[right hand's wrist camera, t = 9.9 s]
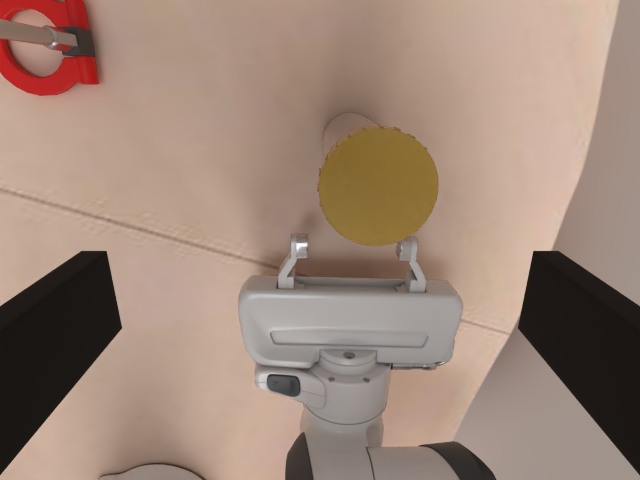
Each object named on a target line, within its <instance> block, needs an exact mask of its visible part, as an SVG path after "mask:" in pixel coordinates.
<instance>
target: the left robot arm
mask: <svg viewBox="0 0 640 480" xmlns="http://www.w3.org/2000/svg"><path fill="white" fill-rule="evenodd" d="M397 243H398V245H397V247H396V254H397V256H398V259H399V261H408V262H409V264H410V266H411V268H412V271H411V270H407V271H406V275H405V279H380V278H341V277H303V276H295V268H294V267H293V266H294V264H295V263H296V261H297V260H298V258H307V256H308V234H297V233H292V235H291V251H290V252H289V254H288V255H287V257H286V258H285V260H284V261H283V263H282V264H281V266H280V270H279V274H278V276H265V275H253V276H250V277H249V278H248V279H247V281H246V282H245V283H244V284H243V286H242V288H241V291H240V294H239V299H238V309H239V319H240V326H241V331H242V336H243V341H244V345H245V348H246V351H247V353H248V354H249V356H250V357H251V358H252V359H253V360H254V361H255V362H256V364H255V384H256V386H257V387H258V388H259V389H261V390H264V391H267V392H271V393H275V394H278V395H282V396H285V397H288V398H291V399H294V400H296V401H299V402H301V403H303V405H304V411H303V413H302V416H301V422H300V435H299V436H298V438H297V439H296V441H295V442H294V444H293V445H292V447H291V449H290V450H289V452H288V455H287V460H286V472H285V480H496V478H495V476H494V474H493V473H492V471H491V470H490V469H489V468H488V467H487V466H486V465H485V464H484V463H483V462H482V461H481V460H480V459H479V458H478V457H477V456H476V455H475V454H473V453H472V452H471V451H470V450H468V449H467V448H466V447H464V446H463V445H461V444H460V443H458V442H454V441H452V442H444V443H435V444H426V445H420V446H418V447H382V441H383V429H384V428H383V421H382V417H381V416H382V414H383V412H384V410H385V408H386V404H387V397H388V388H389V380H390V371H391V369H394V370H409V369H422V370H434V369H436V366H440V365H443V364H445V363H446V362H449V361H450V360H451V358H452V355H453V349H454V338H455V335H456V332H457V329H458V326H459V323H460V319H461V315H462V311H463V302H462V299H461V297H460V296H459V294H458V292H457V291H456V290H455V288H454V287H453V286H452V285H451V284H450V283H449V282H448V281H446V280H426V278H425V276H424V274H423V272H422V270H421V268H420V266H419V264H418V262H417V260H416V257H417V249H418V242H417V240H416V238H415V237H406V238H405V239H403V240H400V241H398V242H397ZM98 480H202V479H201V478H200V477H198V476H197V475H195V474H193V473H192V472H189V471H187V470H185V469H182V468H179V467H175V466H170V465H162V464H152V465H144V466H140V467H136V468H133V469H131V470H129V471H127V472H125V473H122V474H116V475H106V476H102V477H100V478H99V479H98Z"/></svg>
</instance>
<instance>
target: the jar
mask: <svg viewBox="0 0 640 480" xmlns="http://www.w3.org/2000/svg"><path fill="white" fill-rule="evenodd" d="M362 126H365V127H368V126H378V125H377V124H375V123H373V122H372V121H370V120H369V119H367V118H366V117H364V116H362V115H360V114H357V113H344V114H341V115H338V116H337V117H335V118H334V119H333V120H331V121H330V123H329V124H328V125H327V127H326V129H325V131H324V135H323V151H324V159H325V154H327V153H328V152H329V150H330V149H331V148H332V146H333V145H334V142H335V141H336V142H337V141H338V140H339V139H341V138H342V137H343V136H345V135H346V134H347V132H349V133H350V132H352V131H354V130H356V129H359V128H362Z"/></svg>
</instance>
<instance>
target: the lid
mask: <svg viewBox="0 0 640 480" xmlns="http://www.w3.org/2000/svg"><path fill="white" fill-rule="evenodd" d="M319 175H320V176H319V183H318V191H319V197H320V207H321V206H322V210H323V212H324V214H325V216H326V219H327V220H328V221H329V223H330V224H331V225H332V227H333V228H334V229H335V230H336V231H337V232H339V233H340V234H341V235H342V236H344V237H345V238H347V239H349V240H351V241H353V242H356V243H359V244H364V245H371V246H382V245H388V244H392V243H396V242H398V241H400V240H403V239H405V238H406V237H408V236H410V235H411V234H413V233H414V232H415V231H417V230H418V229H419V228H420V227H421V226H422V225H423V223H424V222H425V221H426V220H427V218H428V217H429V215H430V214H431V212H432V210H433V208H434V205H435V202H436V199H437V194H438V175H437V170H436V167H435V164H434V162H433V160H432V158H431V156H430V154H429V153H428V152H427V149H426V148H425V147H423V146H422V145H421V144H420V143H419V142H418V141H416V140H415V137H413V136H412V135H410V134H408V135H407V134H405V133H403V132H401V130H400V129H398V128H396V127H394V128H390V127H386V126H382V125H381V124H378V126H368V127H365V126H362V128H359V129H356V130H354V131H352V132H350V133H349V132H347V134H346V135H345V136H343V137H342V138H341V139H339V140H338V141H337V142H336V141H335V142H334V145H333V146H332V148H331V149H330V150H329V152H328V153H327V154H325V159H324V161H323V164H322V166H321V169H320V168H319Z"/></svg>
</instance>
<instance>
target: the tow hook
mask: <svg viewBox="0 0 640 480" xmlns="http://www.w3.org/2000/svg"><path fill="white" fill-rule="evenodd" d="M24 9H34V10H37V11H39V12H41V13H43V14H44V15H45V16H46V17H48V18H49V19H50V20H51V21H52V22H53V24H54V25H55V26H56V27H52V26H48V25H45V26H43V27H37V26H32V25H27V24H22V23H17V22H13V21H10V19H11V17H12V16H13V15H14V14H16V13H17V12H19V11H21V10H24ZM6 39H8V40H14V41H21V42H27V43H34V44H41V45H44V46H46V47H47V48H49V49H52V50H59V51H62V54H63V55H67V56H75V57H67V58H64V59H63V60H62V63H61V65H60V67H59V68H58V70H57V71H56V72H55V73H53V74H52V75H50V76H47V77H36V76H33V75H31V74H29V73H27V72H26V71H25V70H23V69H22V68H21V67H20V66H19V65H18V64H17V63H16V62H15V60H14V59H13V57H12V55H11V54H10V52H9V49H8V46H7V42H6ZM94 57H95V52H94V47H93V42H92V36H91V31H90V30H89V27H88V22H87V16H86V11H85V5H84V1H83V0H65V2H58V1H57V0H0V73H1V74H2V75H3V76H4V77H5V78H6V79H7V80H8V81H9V82H11V83H12V84H13V85H14V86H16V87H17V88H19V89H21V90H23V91H25V92H27V93H31V94H36V95H40V96H42V95H57V94H60V93H63V92H65V91H67V90H69V89H70V88H71V87H72V86H73V85H75V84H76V82H81V84H99V81H98V76H97V70H96V65H95V59H94Z"/></svg>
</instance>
